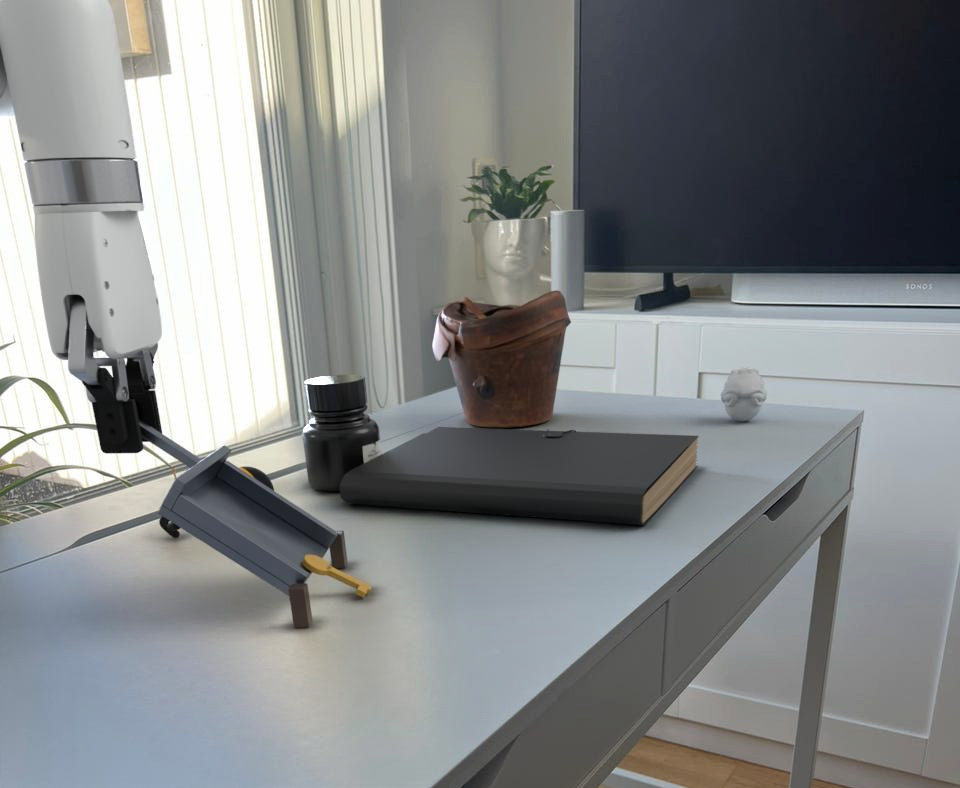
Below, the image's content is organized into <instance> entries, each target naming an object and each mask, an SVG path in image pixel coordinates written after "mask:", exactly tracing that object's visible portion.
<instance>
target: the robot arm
mask: <svg viewBox="0 0 960 788" xmlns="http://www.w3.org/2000/svg"><path fill="white" fill-rule="evenodd" d="M122 62H123V61H122V55H121V49H120V45H119V39H118V33H117V25H116V21H115V16H114V12H113V9H112V6H111V4H110V2H109V0H0V119H2V120H3V119H13V118H14V120H15V124H16V129H17V134H18V138H19V139H18V140H19V143H20V148H21V153H22V157H23V162H24V164H23V165H24V170H25V174H26V179H27V184H28V188H29V189H28V190H29V194H30V199H31V203H32V209H33V213H34V242H35V255H36V256H35V257H36V265H37V273H38V281H39V287H40V294H41V302H42V307H43V308H42V309H43V314H44V319H45V326H46V331H47V336H48V341H49V345H50V349H51V352H52V354H53V355H54V356H55V357H56V358H57V359H59V360H61V361H67V369H68V372H69V373H70V374H71V375H72V376H73V377H75V378H76V379H78V380H79V381H81V383H82V384H83V386H84V388H85V393H86V397H87V399H88V402H90V403H91V406H92V411H93V417H94V421H95V422H94V423H95V427H96V431H97V437H98V443H99V447H100V450H101V452H102V453H104V454H139V453H141V452H142V451H143V450H144V443H150V442H149V441H148V440H146V439H145V438H143V437H141V431H140V425H139V420H138V414H137V408H136V403H135V400H136V401H137V402H138V403H139V404H140V406H141V408H142V419H141V420H142V421H143V422H145V423H146V424H148V425H149V426H151V427H152V428H154V429H155V430H157V431H159V432H160V433H162V434H163V429H162V424H161V416H160V413H159V412H160V411H159V405H158V400H157V392H156V387H157V382H156V381H157V380H156V376H155V375H156V374H155V371H154V364H155V361H154V360H155V356H156V353H157V351H158V348H159V342H160V340H161V338H162V337H163V336H162V335H163V327H162V317H161V309H160V304H159V303H160V302H159V297H158V292H157V291H158V290H157V285H156V281H155V277H154V271H153V267H152V262H151V258H150V253H149V248H148V244H147V240H146V236H145V232H144V228H143V224H142V221H141V216H140V212H145V211H146V205H145V203H144V195H143V189H142V181H141V175H140V169H139V163H138V161H137V159H138V158H137V153H136V146H135V145H136V144H135V139H134V135H133V134H134V133H133V126H132V120H131V113H130V106H129V101H128V100H129V99H128V95H127V88H126V81H125V76H124V75H125V74H124V69H123V63H122ZM101 351H102V352H103V353H104V354H105V355H106V357H104V356H103V357H102V356H101V357H99V356H98V357H95V356H94V353H96V352H101ZM125 359H126V360H125ZM106 367H111V372H110V371H109V370H108V369H107V368H106ZM111 373H112V374H111ZM129 397H132V398H134V399H129Z"/></svg>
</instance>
